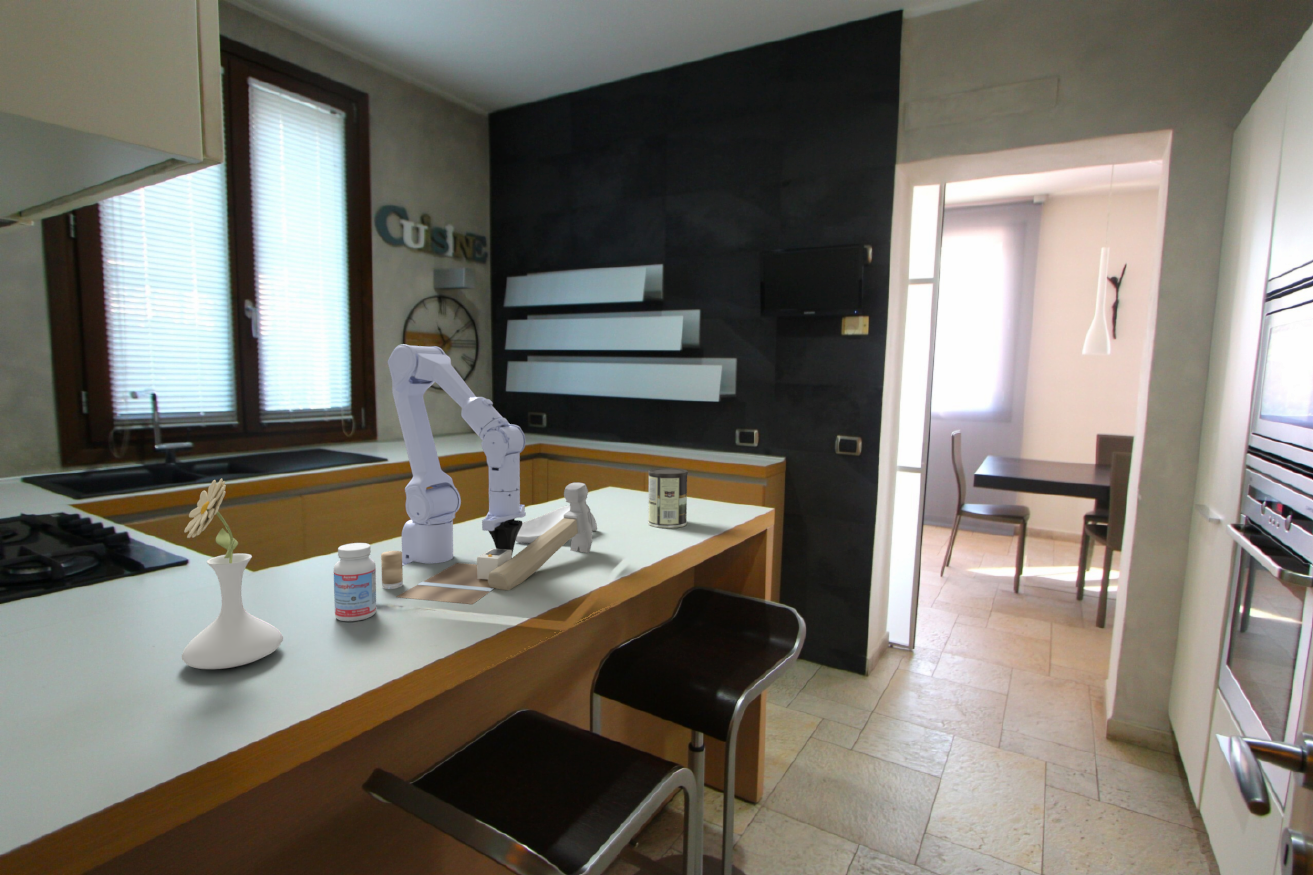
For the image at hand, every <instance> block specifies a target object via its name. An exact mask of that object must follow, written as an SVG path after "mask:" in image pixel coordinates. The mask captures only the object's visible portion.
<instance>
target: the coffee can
mask: <svg viewBox="0 0 1313 875" xmlns="http://www.w3.org/2000/svg"><path fill="white" fill-rule="evenodd" d="M688 472H689V471H688V470H687V469H682V468H677V467H676V468H675V467H674V468H671V467H663V468H662V467H660V468H652V469H648V473H647V474H648V520H647V521H648V522H647V524H648V525H649V526H651V527H655V528H659V529H676V528H683V527H686V526H687V524H688V523H687V515H688V514H687V513H688V512H687V510H688V509H687V507H688V498H687V496H688Z"/></svg>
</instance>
